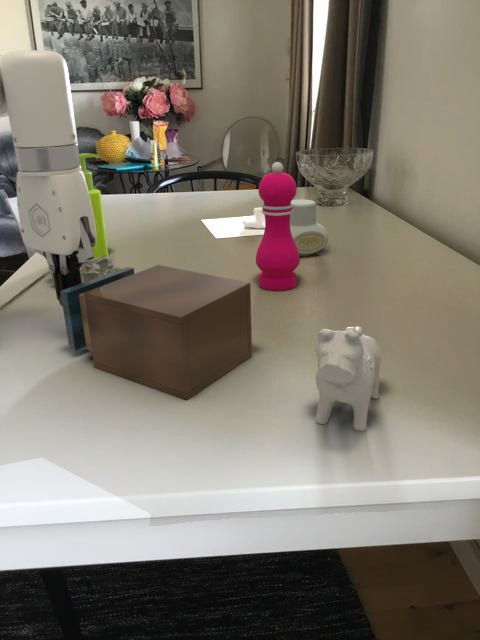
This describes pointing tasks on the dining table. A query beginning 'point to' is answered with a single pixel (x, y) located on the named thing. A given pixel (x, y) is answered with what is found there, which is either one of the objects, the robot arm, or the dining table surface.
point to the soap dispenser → (95, 210)
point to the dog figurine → (347, 372)
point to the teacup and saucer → (237, 225)
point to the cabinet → (170, 328)
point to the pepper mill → (277, 232)
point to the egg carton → (95, 268)
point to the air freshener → (306, 228)
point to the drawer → (83, 308)
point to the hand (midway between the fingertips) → (70, 298)
